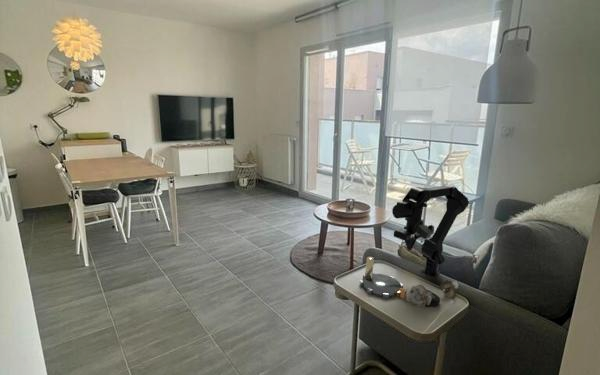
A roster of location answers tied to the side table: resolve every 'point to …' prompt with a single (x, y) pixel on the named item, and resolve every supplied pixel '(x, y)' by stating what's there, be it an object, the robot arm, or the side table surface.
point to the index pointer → (403, 293)
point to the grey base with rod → (379, 282)
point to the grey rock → (422, 297)
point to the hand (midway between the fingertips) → (409, 250)
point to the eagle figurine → (449, 288)
